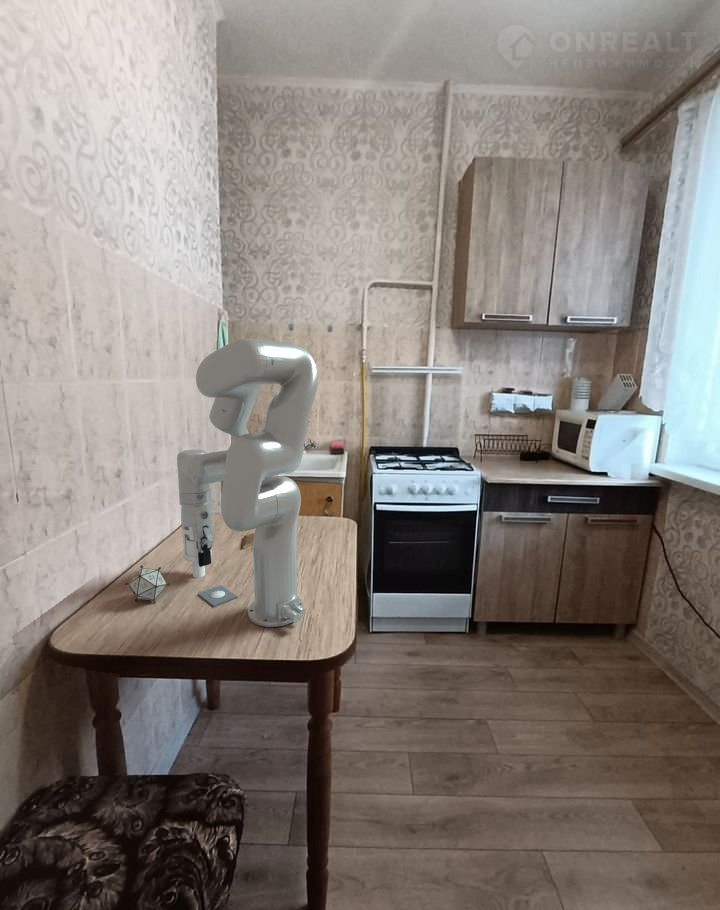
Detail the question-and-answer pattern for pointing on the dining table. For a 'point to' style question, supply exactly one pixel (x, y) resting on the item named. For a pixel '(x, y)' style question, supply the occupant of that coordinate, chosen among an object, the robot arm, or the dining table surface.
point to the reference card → (217, 595)
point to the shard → (248, 540)
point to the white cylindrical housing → (192, 552)
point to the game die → (147, 584)
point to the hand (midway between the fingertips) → (198, 560)
